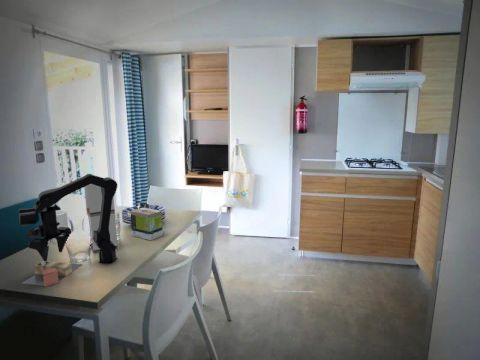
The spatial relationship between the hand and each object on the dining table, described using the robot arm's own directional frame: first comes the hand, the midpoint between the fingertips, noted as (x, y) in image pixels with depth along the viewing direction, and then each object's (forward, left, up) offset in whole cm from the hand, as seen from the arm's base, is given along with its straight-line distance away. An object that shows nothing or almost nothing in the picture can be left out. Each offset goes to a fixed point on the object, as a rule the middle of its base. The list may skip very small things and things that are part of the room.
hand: (53, 256), depth 146 cm
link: (+1, 0, -8) cm, 8 cm away
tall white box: (-5, -30, -8) cm, 31 cm away
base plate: (0, 0, -8) cm, 8 cm away
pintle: (+5, 0, -8) cm, 10 cm away
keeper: (-4, +8, -8) cm, 12 cm away
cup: (+24, -36, -8) cm, 44 cm away
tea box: (-19, -51, -8) cm, 55 cm away
